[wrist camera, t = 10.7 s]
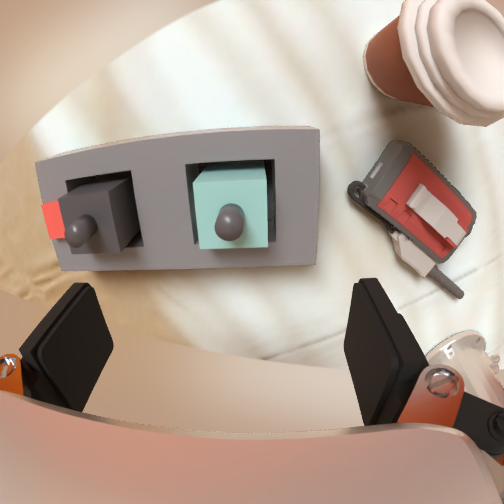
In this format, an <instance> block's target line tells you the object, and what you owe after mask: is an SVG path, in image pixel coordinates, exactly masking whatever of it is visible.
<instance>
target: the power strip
mask: <svg viewBox="0 0 504 504" xmlns="http://www.w3.org/2000/svg"><path fill="white" fill-rule="evenodd" d="M261 159H272V194H273V220H267V222H268V247H257V248H223V249H200V246H199V238H198V229H197V220H196V211H195V201H194V191H193V182H194V181H195V180H196V178H197V177H198V176H199V172H198V163H205V162H220V161H237V160H261ZM319 164H320V130H319V129H316V128H313V127H310V126H260V127H237V128H221V129H208V130H197V131H187V132H178V133H169V134H162V135H154V136H147V137H140V138H134V139H128V140H122V141H116V142H111V143H105V144H100V145H95V146H90V147H86V148H81V149H76V150H72V151H68V152H64V153H60V154H58V155H55V156H52V157H49V158H46V159H43V160H41V161H38V162H35V166H36V172H37V177H38V182H39V188H40V192H41V197H42V202H43V205H42V209H43V214H44V218H45V222H46V226H47V229H48V233H49V237H50V239H52V241H53V244H54V248H55V251H56V254H57V258H58V261H59V264H60V267H61V270H62V271H108V270H162V269H203V268H237V267H267V266H295V265H316V254H317V234H318V210H319ZM128 170H131V171H128ZM120 171H127V172H120ZM113 172H120V173H113ZM107 173H113V174H107ZM100 174H106V175H100ZM94 175H100V176H98V177H96V178H94V179H93V176H94Z"/></svg>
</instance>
